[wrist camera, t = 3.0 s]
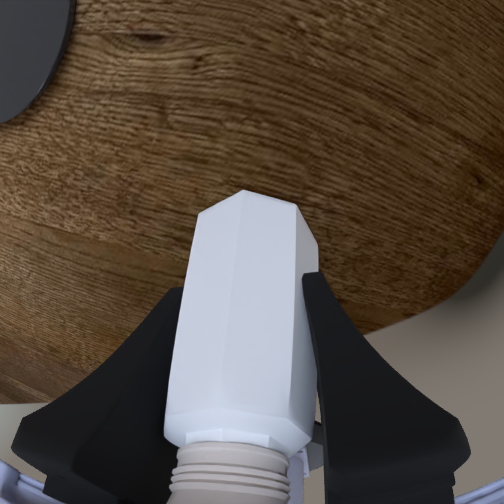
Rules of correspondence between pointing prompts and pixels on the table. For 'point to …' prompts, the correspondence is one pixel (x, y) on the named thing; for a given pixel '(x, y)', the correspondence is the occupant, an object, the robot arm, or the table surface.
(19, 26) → the slate coaster
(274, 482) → the pepper shaker
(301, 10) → the table surface
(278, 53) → the table surface
